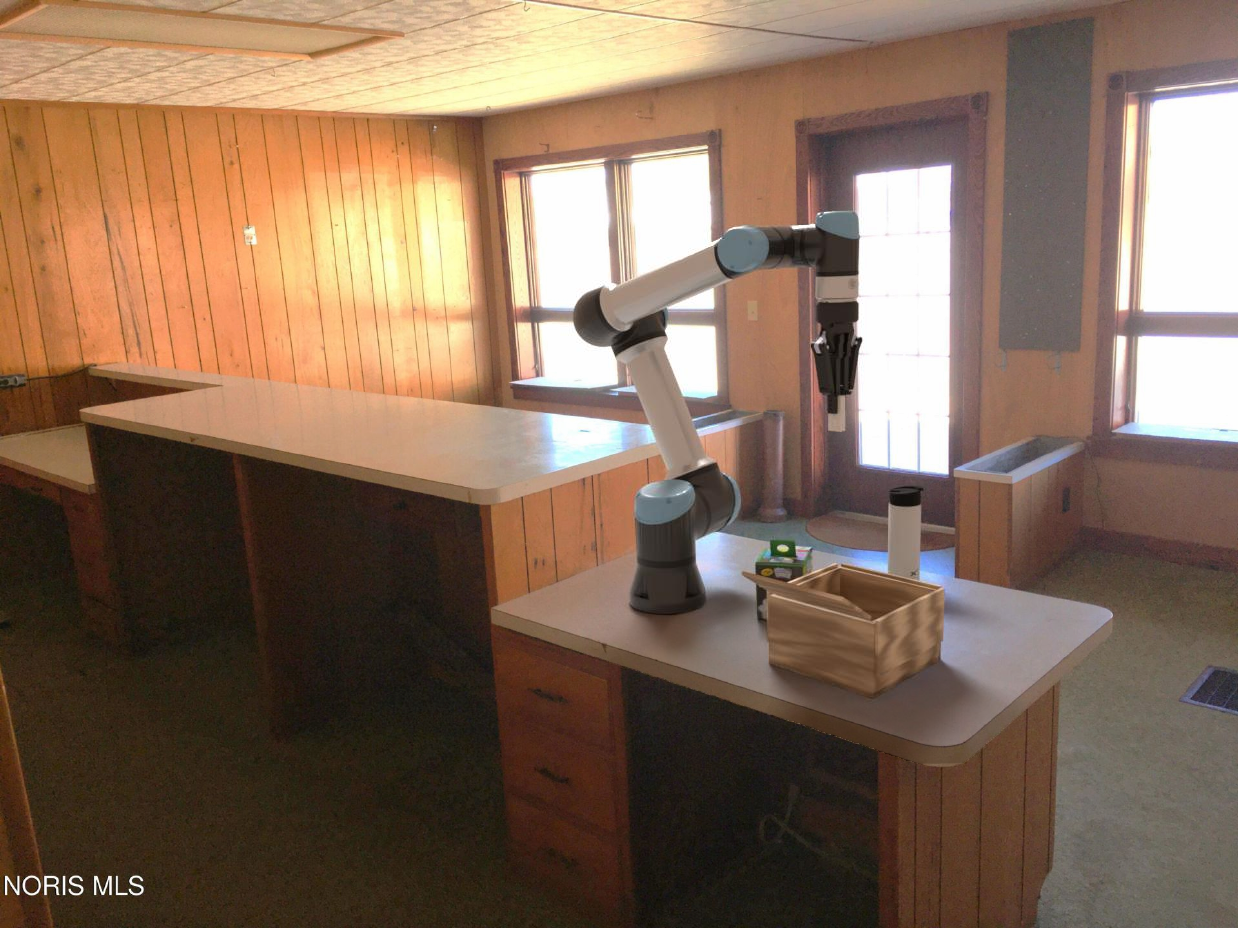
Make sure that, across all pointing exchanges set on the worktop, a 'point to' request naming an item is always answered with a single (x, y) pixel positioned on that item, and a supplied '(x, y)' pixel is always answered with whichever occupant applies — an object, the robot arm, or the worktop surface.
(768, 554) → the chalk box
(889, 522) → the travel mug
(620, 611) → the worktop surface
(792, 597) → the flap
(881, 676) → the light wood open box
